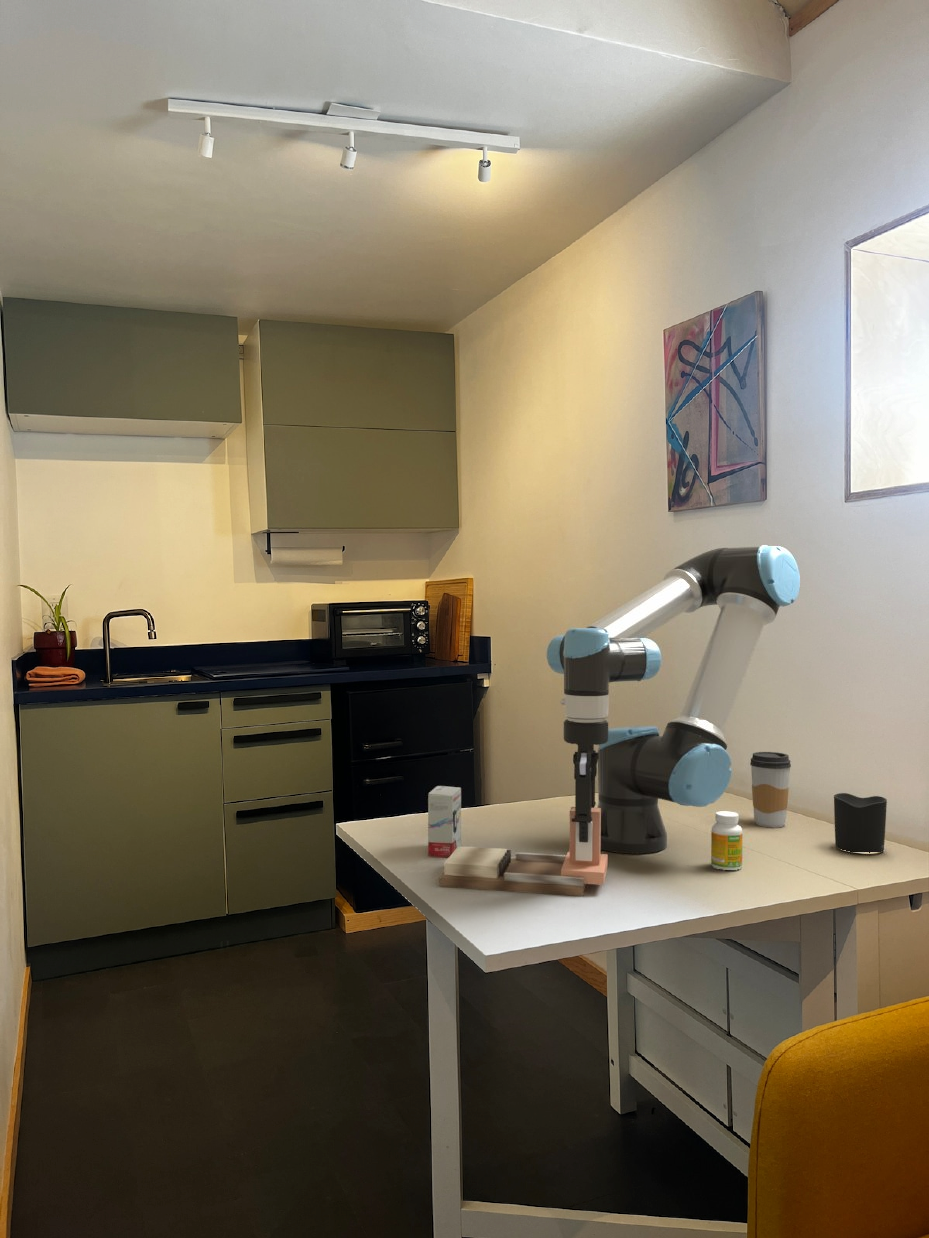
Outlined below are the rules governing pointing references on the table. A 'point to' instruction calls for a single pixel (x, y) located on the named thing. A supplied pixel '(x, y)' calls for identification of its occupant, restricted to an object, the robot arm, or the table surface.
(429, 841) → the ink box
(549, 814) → the table surface
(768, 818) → the coffee cup
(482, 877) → the board
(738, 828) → the supplement bottle
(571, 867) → the stub
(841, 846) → the pen holder
